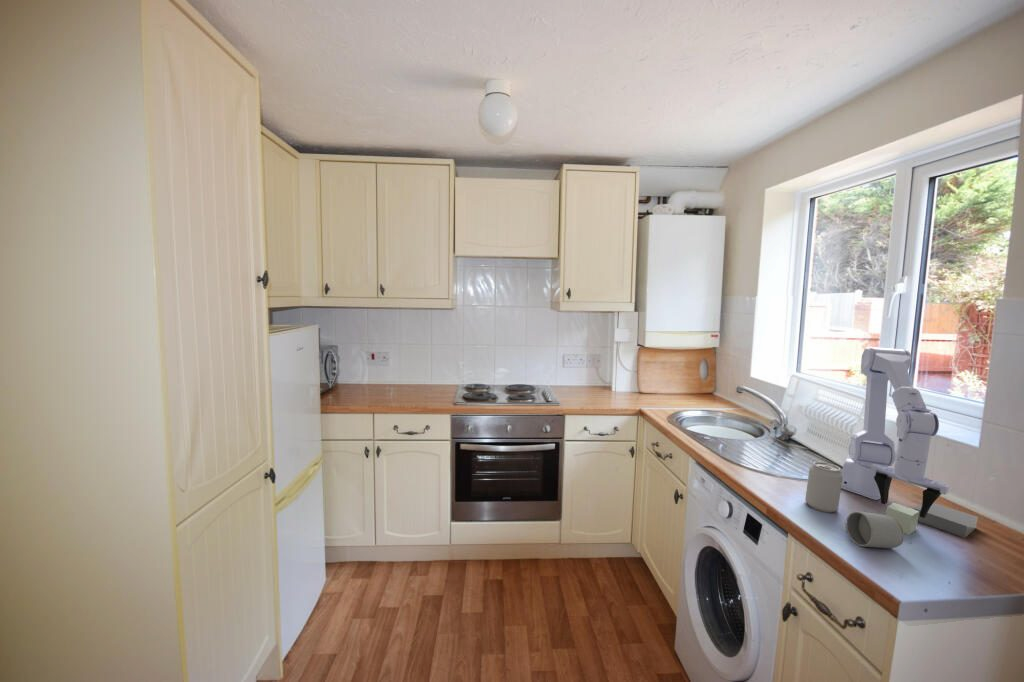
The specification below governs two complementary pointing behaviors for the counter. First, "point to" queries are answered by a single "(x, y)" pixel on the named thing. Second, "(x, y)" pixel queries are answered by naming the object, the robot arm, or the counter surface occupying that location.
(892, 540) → the grey cup
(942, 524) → the stone base
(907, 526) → the green block
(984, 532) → the counter surface
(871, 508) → the counter surface
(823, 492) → the can
